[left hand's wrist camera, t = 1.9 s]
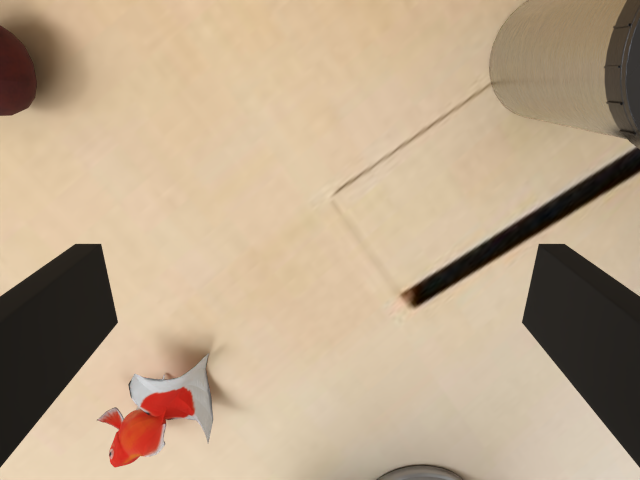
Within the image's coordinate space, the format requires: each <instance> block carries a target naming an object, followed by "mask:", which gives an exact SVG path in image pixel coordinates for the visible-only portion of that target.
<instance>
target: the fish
mask: <svg viewBox="0 0 640 480" xmlns="http://www.w3.org/2000/svg"><path fill="white" fill-rule="evenodd" d="M208 355H209V353H208V354H207V355H206V356H205V357H204V358H203V359H202V360H201V361H200V362H199V363H198V364H197V365H196V366H195V367H193V368H192V369H191V370H190V371H188V372H187V373H185V374H184V375H182V376H181V377H179V378H174V379H169V380H164V377H165V375H164V376H163V379H150V378H144V377H141V376H139V375H137V374H134V376H133V378H132V379H131V381H130V383H129V390H130V395H131V398H132V399H133V401H134V403H135V404H136V405H137V406H138V407H137V409H136V410H135V411H133V412H131V413H130V414H128V415H127V416H126V417H125V419H124V418H123V416H122V414H121V413H120V411H119V410H118V409H117V408H112V409H110V410H108V411H106V412H105V413H104V414H103V415H102V416H101V417H100V418H99V419H98V421H101V422H105V423H108V424H110V425H112V426H114V427H116V428H117V429H119V431H118V432H117V433H116V435H115V438H114V441H113V443H112V445H111V448H110V451H109V457H110V463H111V464H112V465H113V466H114V467H119V466H123V465H127V464H130V463H132V462H134V461H135V460H136V459H137V458H138V457H140V456H145V457H148V456H153V455H156V454H157V453H158V452H160V451H161V449H162V448H163V447H164V445H165V442H164V432H165V427H166V420H165V419H167V420H171V419H179V418H186V419H191V420H196V421H197V422H198V423H199V424H200V425H201V427H202V429H203V430H204V432H205V435H206V438H207V442H209V437H210V432H211V428H212V423H213V413H212V402H211V394H210V389H209V384H208V379H207V373H206V365H207V359H208Z"/></svg>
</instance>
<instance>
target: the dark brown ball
mask: <svg viewBox="0 0 640 480" xmlns="http://www.w3.org/2000/svg"><path fill="white" fill-rule="evenodd" d="M36 87H37V81H36V76H35V70H34V65H33V62H32V60H31V58H30V56H29V54H28V52H27V50H26V48H25V46H24V45H23V44H22V43H21V42H20V41H19V40H18V39H17V38H16V37H15V36H14V35H13V34H12V33H11V32H9V31H8V30H6V29H5V28H3V27H2V26H0V116H7V115H13V114H16V113H18V112H20V111H22V110H25V109H27V108H29V106H30V104H31V103H32V101H33V100H34V98H35V94H36Z"/></svg>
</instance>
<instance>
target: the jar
mask: <svg viewBox="0 0 640 480" xmlns="http://www.w3.org/2000/svg"><path fill="white" fill-rule="evenodd" d="M626 1H627V0H529V1H527V2H526V3H524V4H523V5H521V6H520V7H519V8H518V9H517V10H516V11H514V12H513V13H512V15H511V16H510V17H509V18H508V19H507V20H506V22H505V23H504V25H503V26H502V27H501V29H500V31H499V33H498V35H497V37H496V39H495V42H494V44H493V48H492V51H491V57H490V78H491V83H492V86H493V89H494V92H495V93H496V95H497V97H498V99H499V100H500V101H501V103H502V104H503V105H504V106H505V107H506V108H508V109H509V110H510V111H512V112H513V113H515V114H517V115H520V116H523V117H527V118H531V119H536V120H541V121H545V122H550V123H555V124H559V125H564V126H569V127H573V128H578V129H583V130H587V131H592V132H597V133H601V134H606V135H611V136H615V137H620V138H625V139H627V138H626V137H625V136H624V135H623V134H622V133H620V132H619V131H620V129H619V128H618V126H617V125H616V123H615V121H614V119H613V117H612V114H611V112H610V110H609V106H608V104H606V102H607V98H606V92H605V83H604V80H605V68H604V66H605V62H606V55H607V50H608V46H609V42H610V38H611V35H612V32H613V29H614V28H613V26H615V24H616V21H617V19H618V17H619V15H620V13H621V11H622V9H623V7H624V5H625V3H626Z"/></svg>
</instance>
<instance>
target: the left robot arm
mask: <svg viewBox="0 0 640 480" xmlns="http://www.w3.org/2000/svg"><path fill="white" fill-rule="evenodd" d="M117 323H118V320H117V316H116V311H115V306H114V302H113V297H112V293H111V288H110V283H109V279H108V274H107V269H106V265H105V260H104V255H103V251H102V246H101V244H75V245H73V246H72V247H70V248H69V249H68V250H66V251H65V252H63V253H62V254H60V255H59V256H58V257H56V258H55V259H53V260H52V261H50V262H49V263H48V264H46V265H45V266H43V267H42V268H40V269H39V270H38V271H36V272H35V273H33V274H32V275H30V276H29V277H28V278H26V279H25V280H23V281H22V282H20V283H19V284H18V285H16V286H15V287H13V288H12V289H10V290H9V291H8V292H6V293H5V294H3V295H2V296H0V467H1V466H2V465H3V464H4V462H5V461H6V460H7V459H8V457H9V456H10V455H11V454H12V452H13V451H14V450H15V449H16V447H17V446H18V445H19V444H20V443H21V441H22V440H23V439H24V438H25V436H26V435H27V434H28V433H29V431H30V430H31V429H32V428H33V427H34V425H35V424H36V423H37V422H38V420H39V419H40V418H41V417H42V415H43V414H44V413H45V412H46V410H47V409H48V408H49V407H50V406H51V404H52V403H53V402H54V401H55V399H56V398H57V397H58V396H59V394H60V393H61V392H62V391H63V390H64V388H65V387H66V386H67V385H68V383H69V382H70V381H71V380H72V378H73V377H74V376H75V375H76V373H77V372H78V371H79V370H80V369H81V367H82V366H83V365H84V364H85V362H86V361H87V360H88V359H89V357H90V356H91V355H92V354H93V353H94V351H95V350H96V349H97V348H98V346H99V345H100V344H101V343H102V341H103V340H104V339H105V338H106V336H107V335H108V334H109V333H110V332H111V330H112V329H113V328H114V327H115V325H116V324H117ZM522 323H523V324H524V325H525V327H526V328H527V329H528V330H529V332H530V333H531V334H532V335H533V336H534V338H535V339H536V340H537V341H538V343H539V344H540V345H541V346H542V348H543V349H544V350H545V351H546V353H547V354H548V355H549V356H550V357H551V359H552V360H553V361H554V362H555V364H556V365H557V366H558V367H559V369H560V370H561V371H562V372H563V373H564V375H565V376H566V377H567V378H568V380H569V381H570V382H571V383H572V385H573V386H574V387H575V388H576V390H577V391H578V392H579V393H580V394H581V396H582V397H583V398H584V399H585V401H586V402H587V403H588V404H589V406H590V407H591V408H592V409H593V410H594V412H595V413H596V414H597V415H598V417H599V418H600V419H601V420H602V422H603V423H604V424H605V425H606V427H607V428H608V429H609V430H610V431H611V433H612V434H613V435H614V436H615V438H616V439H617V440H618V441H619V443H620V444H621V445H622V446H623V447H624V449H625V450H626V451H627V452H628V454H629V455H630V456H631V457H632V459H633V460H634V461H635V462H636V464H637V465H638V466H639V467H640V296H638V295H637V294H635V293H634V292H632V291H631V290H630V289H628V288H627V287H625V286H624V285H622V284H621V283H620V282H618V281H617V280H615V279H614V278H612V277H611V276H610V275H608V274H607V273H605V272H604V271H602V270H601V269H600V268H598V267H597V266H595V265H594V264H592V263H591V262H590V261H588V260H587V259H585V258H584V257H582V256H581V255H580V254H578V253H577V252H575V251H574V250H572V249H571V248H570V247H568V246H567V245H565V244H539V246H538V251H537V255H536V260H535V265H534V269H533V274H532V279H531V283H530V288H529V293H528V297H527V302H526V306H525V311H524V316H523V320H522ZM378 480H463V479H462V478H461V477H459V476H458V475H456V474H454V473H453V472H450V471H448V470H445V469H442V468H438V467H433V466H411V467H405V468H401V469H398V470H395V471H392V472H390V473H388V474H386V475H384V476H382V477H380V478H379V479H378Z"/></svg>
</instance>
